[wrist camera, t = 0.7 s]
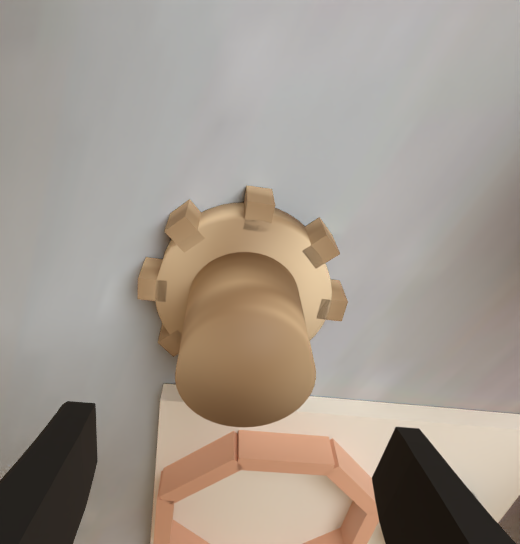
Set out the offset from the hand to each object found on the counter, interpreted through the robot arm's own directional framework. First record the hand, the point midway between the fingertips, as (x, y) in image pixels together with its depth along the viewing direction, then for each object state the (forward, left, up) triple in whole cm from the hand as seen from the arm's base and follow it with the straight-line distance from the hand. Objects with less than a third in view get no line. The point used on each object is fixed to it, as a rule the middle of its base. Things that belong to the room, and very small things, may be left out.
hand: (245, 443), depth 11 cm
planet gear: (0, 0, -8) cm, 8 cm away
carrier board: (-7, +13, -8) cm, 17 cm away
